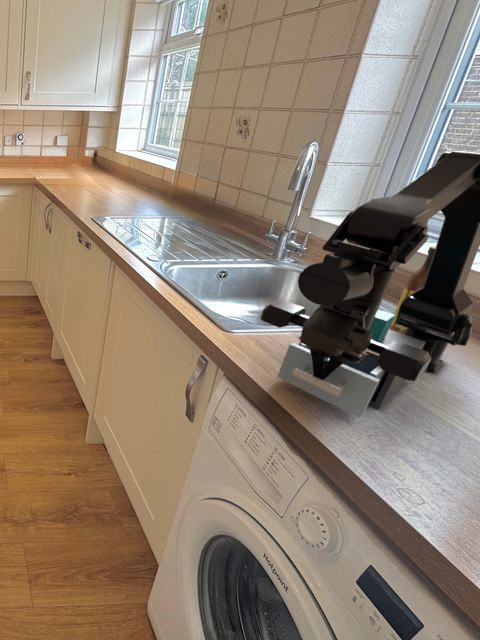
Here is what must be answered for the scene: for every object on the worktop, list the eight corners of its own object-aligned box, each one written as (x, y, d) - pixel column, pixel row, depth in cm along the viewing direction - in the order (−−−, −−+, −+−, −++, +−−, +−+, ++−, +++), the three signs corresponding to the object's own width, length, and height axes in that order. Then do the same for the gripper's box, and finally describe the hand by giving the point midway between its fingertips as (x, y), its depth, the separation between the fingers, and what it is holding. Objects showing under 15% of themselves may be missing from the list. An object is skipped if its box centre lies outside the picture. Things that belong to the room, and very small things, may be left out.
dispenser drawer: (349, 428, 61) (367, 391, 58) (265, 384, 70) (277, 351, 67) (386, 391, 69) (403, 358, 67) (307, 357, 78) (319, 326, 76)
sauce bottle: (435, 344, 86) (481, 256, 79) (400, 340, 87) (443, 253, 80) (410, 328, 92) (451, 245, 85) (378, 325, 93) (416, 242, 86)
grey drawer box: (378, 409, 66) (400, 364, 63) (290, 367, 76) (305, 327, 73) (404, 382, 73) (425, 341, 70) (320, 347, 83) (335, 310, 80)
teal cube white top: (353, 325, 74) (362, 304, 73) (385, 337, 71) (395, 315, 69) (343, 331, 72) (353, 309, 71) (376, 344, 69) (387, 321, 67)
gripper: (258, 279, 63) (231, 364, 68) (431, 338, 48) (378, 440, 54) (291, 267, 68) (263, 347, 74) (454, 316, 54) (404, 411, 59)
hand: (318, 381), depth 65 cm, fingers closed, pressing on dispenser drawer
